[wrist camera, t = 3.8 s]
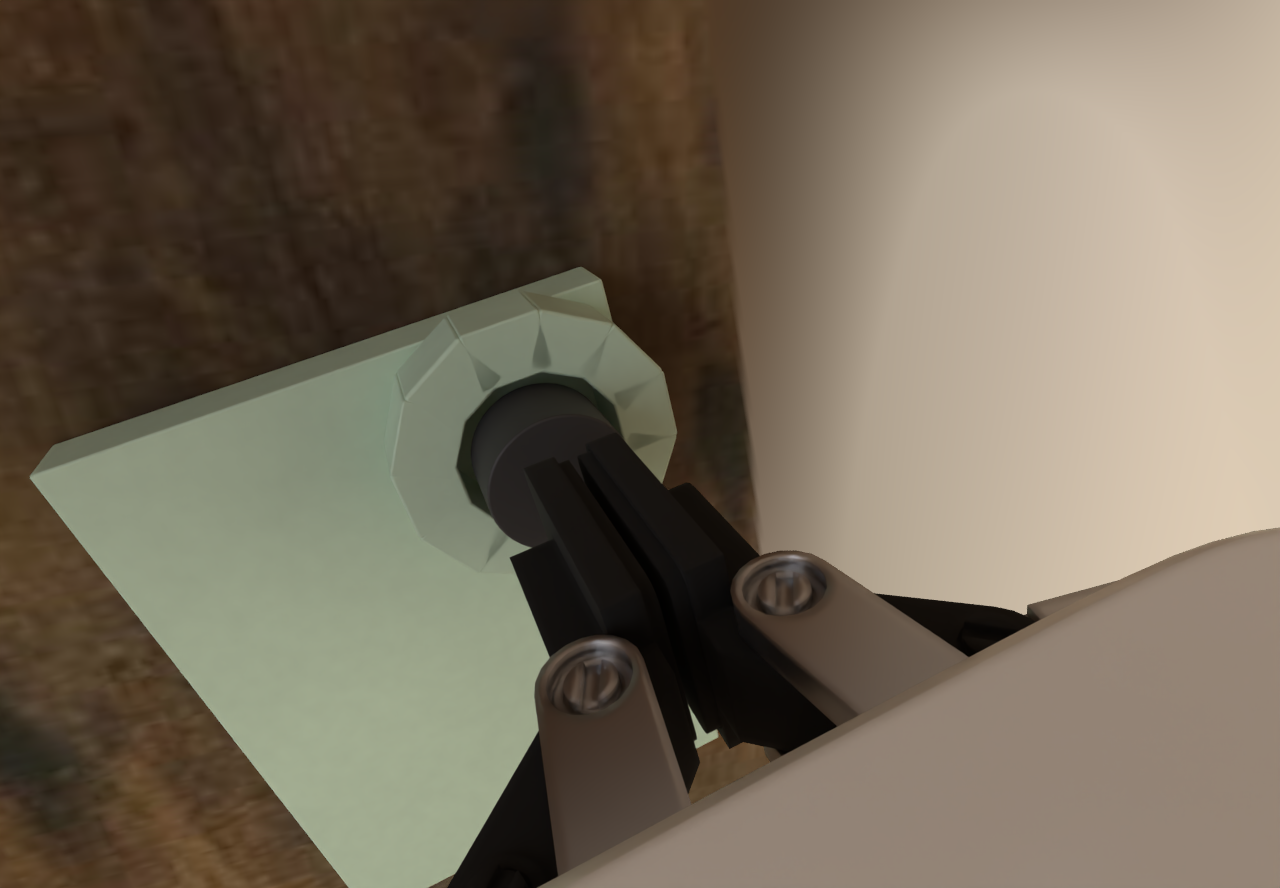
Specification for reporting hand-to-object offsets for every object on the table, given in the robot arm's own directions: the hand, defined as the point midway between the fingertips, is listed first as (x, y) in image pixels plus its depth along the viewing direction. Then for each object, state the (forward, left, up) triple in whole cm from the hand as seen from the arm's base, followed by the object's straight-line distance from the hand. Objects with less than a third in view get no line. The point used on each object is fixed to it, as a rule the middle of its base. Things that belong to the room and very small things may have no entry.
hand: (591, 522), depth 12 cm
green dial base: (+5, -3, -6) cm, 8 cm away
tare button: (0, 0, -3) cm, 3 cm away
